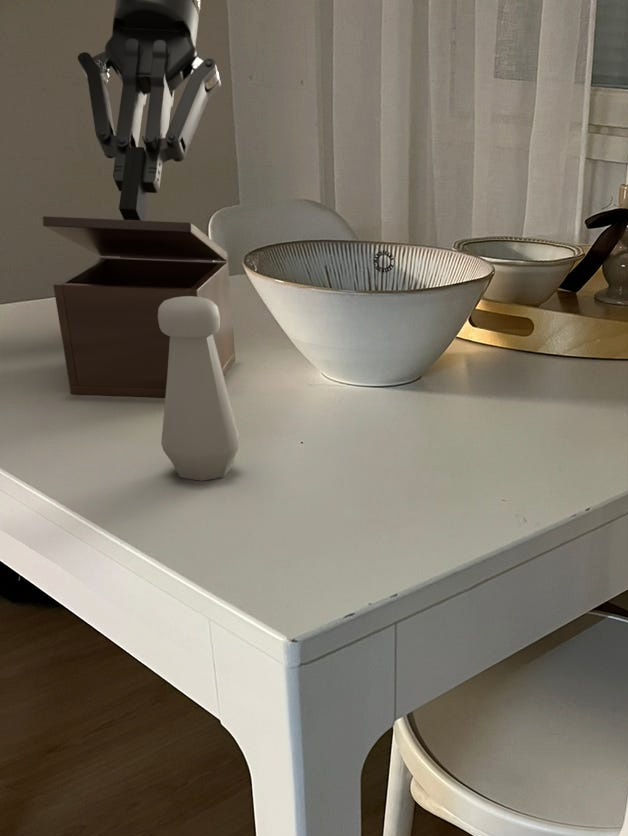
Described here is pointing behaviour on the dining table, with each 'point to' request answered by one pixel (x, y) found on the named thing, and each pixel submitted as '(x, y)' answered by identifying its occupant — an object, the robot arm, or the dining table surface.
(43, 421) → the dining table surface
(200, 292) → the chest
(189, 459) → the salt shaker
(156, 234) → the chest lid
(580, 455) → the dining table surface
